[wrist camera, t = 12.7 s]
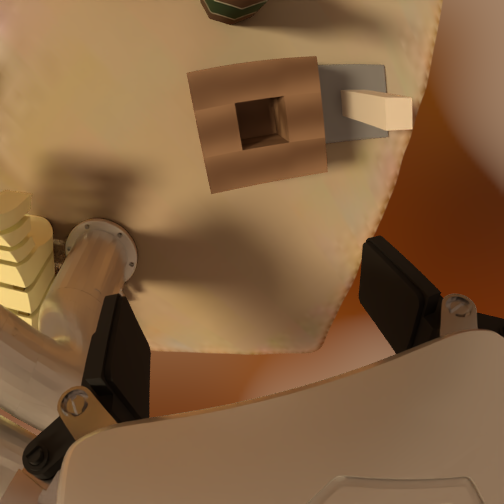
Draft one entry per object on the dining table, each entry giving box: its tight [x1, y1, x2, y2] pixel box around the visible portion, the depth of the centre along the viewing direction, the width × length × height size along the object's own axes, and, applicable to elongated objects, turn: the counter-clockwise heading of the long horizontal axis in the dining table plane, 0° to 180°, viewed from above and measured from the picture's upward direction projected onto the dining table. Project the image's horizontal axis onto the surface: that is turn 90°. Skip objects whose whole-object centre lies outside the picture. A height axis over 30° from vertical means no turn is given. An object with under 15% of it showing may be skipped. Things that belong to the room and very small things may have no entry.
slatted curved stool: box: [0, 190, 55, 331], centre depth 36 cm, size 30×16×18 cm, turn 164°
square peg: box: [341, 89, 412, 131], centre depth 36 cm, size 4×4×12 cm
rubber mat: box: [318, 64, 388, 143], centre depth 41 cm, size 12×12×1 cm
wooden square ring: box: [187, 56, 328, 194], centre depth 36 cm, size 14×14×10 cm
